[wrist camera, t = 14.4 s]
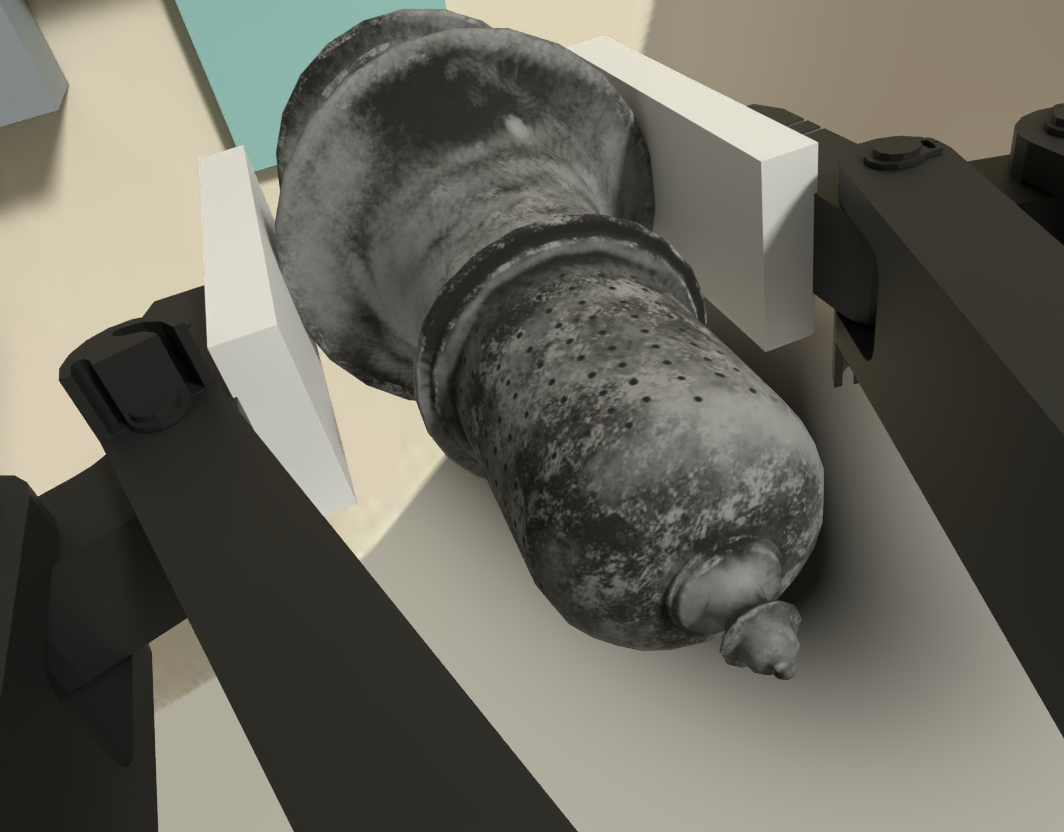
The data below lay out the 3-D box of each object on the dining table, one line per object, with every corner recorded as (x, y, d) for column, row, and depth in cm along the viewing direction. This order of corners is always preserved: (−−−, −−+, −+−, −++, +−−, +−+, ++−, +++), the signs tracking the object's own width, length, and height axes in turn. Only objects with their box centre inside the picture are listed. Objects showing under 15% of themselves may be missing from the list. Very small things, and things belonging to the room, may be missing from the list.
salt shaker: (453, 357, 18) (744, 931, 9) (191, 208, 15) (206, 882, 5) (633, 128, 16) (1224, 524, 7) (387, -98, 13) (894, 89, 4)
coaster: (136, -96, 24) (135, -95, 24) (401, -165, 25) (405, -164, 25) (246, 168, 29) (247, 173, 29) (464, 101, 30) (469, 105, 30)
